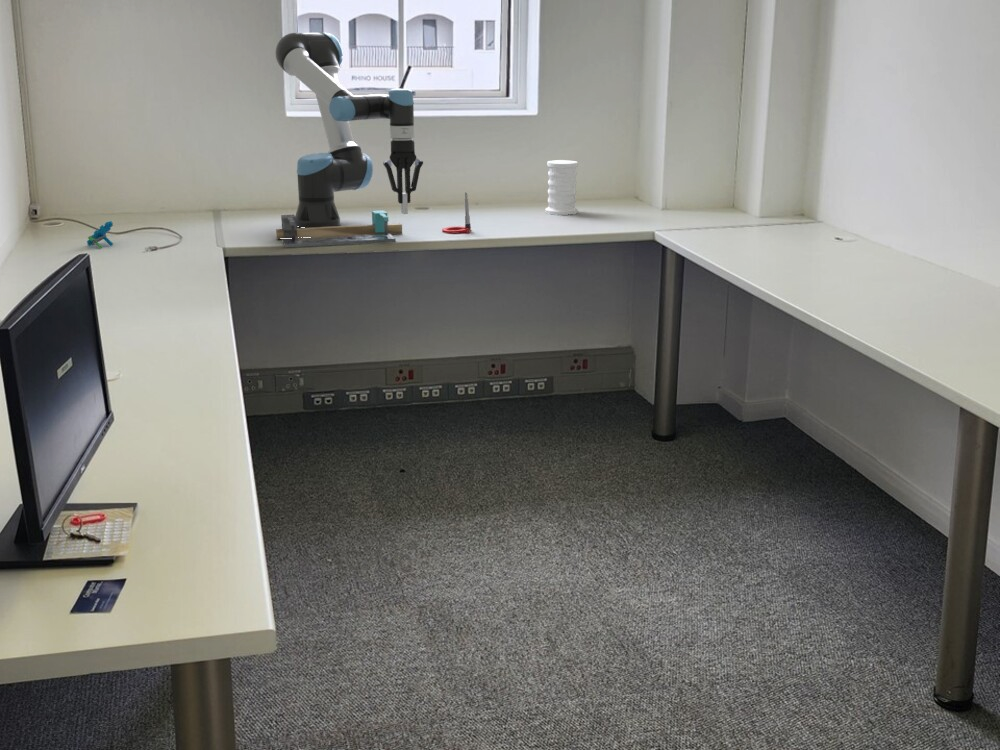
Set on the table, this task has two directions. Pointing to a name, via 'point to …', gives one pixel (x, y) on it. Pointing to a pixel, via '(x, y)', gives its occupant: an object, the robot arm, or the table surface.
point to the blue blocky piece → (100, 235)
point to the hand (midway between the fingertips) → (404, 213)
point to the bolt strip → (338, 240)
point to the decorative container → (562, 187)
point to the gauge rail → (328, 229)
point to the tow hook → (467, 221)
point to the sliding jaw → (380, 221)
